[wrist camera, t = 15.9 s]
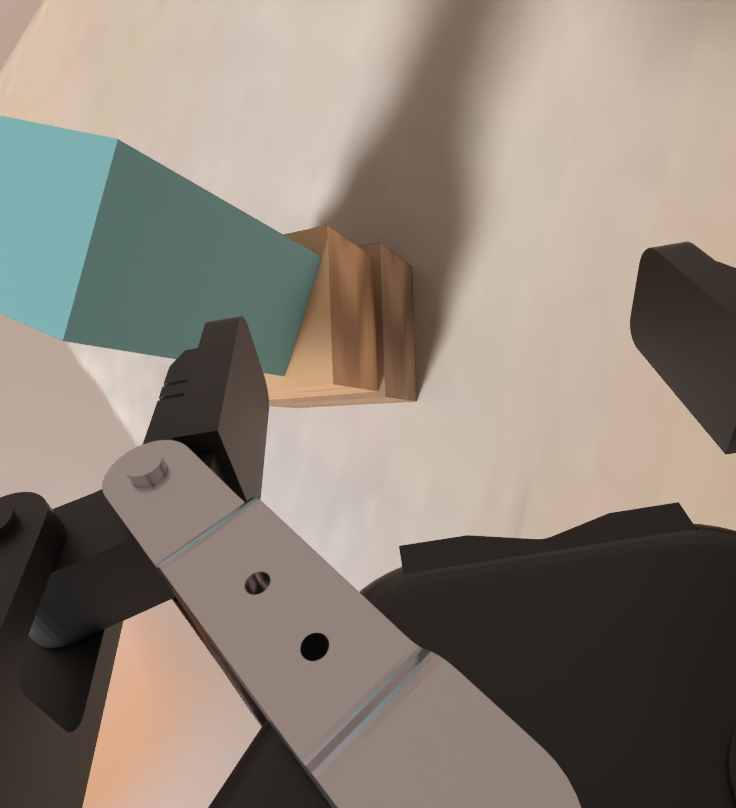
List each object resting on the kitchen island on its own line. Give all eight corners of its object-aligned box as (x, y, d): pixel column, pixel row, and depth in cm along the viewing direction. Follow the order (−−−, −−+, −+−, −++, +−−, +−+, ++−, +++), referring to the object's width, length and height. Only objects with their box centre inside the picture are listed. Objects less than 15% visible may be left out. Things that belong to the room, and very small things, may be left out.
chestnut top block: (259, 277, 32) (200, 252, 28) (372, 257, 29) (327, 225, 25) (263, 400, 32) (203, 395, 27) (378, 391, 29) (333, 384, 24)
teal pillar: (226, 231, 27) (-8, 113, 17) (322, 257, 25) (117, 139, 15) (194, 342, 28) (-52, 291, 17) (284, 376, 25) (62, 341, 15)
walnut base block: (297, 286, 37) (251, 265, 32) (412, 267, 34) (380, 242, 29) (299, 408, 37) (254, 404, 32) (417, 401, 33) (385, 396, 29)
